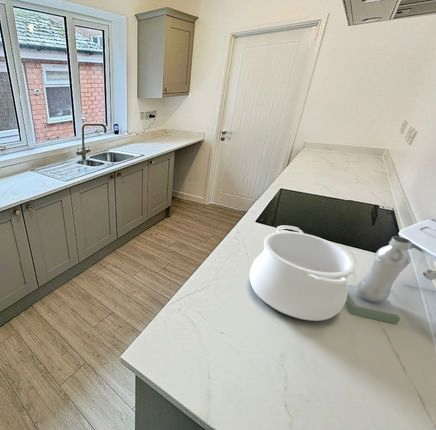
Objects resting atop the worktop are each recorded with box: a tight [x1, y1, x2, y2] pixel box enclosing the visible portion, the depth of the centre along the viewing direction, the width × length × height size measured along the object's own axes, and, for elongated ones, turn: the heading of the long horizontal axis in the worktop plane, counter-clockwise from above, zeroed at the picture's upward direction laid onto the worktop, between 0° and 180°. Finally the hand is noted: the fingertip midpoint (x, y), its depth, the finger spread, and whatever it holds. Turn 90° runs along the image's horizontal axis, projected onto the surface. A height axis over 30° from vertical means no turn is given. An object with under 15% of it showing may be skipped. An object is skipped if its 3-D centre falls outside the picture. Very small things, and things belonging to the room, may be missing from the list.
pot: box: [249, 225, 357, 322], centre depth 78 cm, size 28×24×17 cm
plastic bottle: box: [356, 235, 412, 303], centre depth 72 cm, size 6×7×20 cm
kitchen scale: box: [344, 284, 401, 325], centre depth 77 cm, size 10×10×3 cm
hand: (409, 265), depth 70 cm, fingers open, 8 cm apart
